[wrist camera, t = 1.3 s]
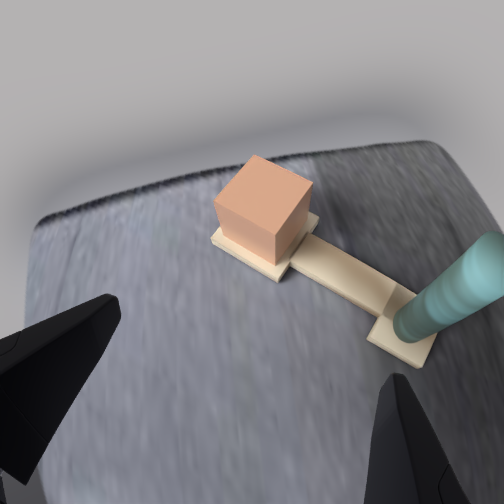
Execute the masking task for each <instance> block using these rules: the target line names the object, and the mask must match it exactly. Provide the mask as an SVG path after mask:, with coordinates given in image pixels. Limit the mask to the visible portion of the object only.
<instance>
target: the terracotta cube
mask: <svg viewBox="0 0 504 504" xmlns="http://www.w3.org/2000/svg"><path fill="white" fill-rule="evenodd" d="M312 187H313V182H311V181H309V180H307V179H305V178H303V177H301V176H299V175H297V174H295V173H293V172H291V171H288V170H286V169H284V168H282V167H280V166H278V165H276V164H274V163H271V162H269V161H267V160H265V159H263V158H261V157H258V156H256V155H254V156H253V157H252V158H251V159H250V160H249V161H248V162H247V163H246V164H245V165H244V166H243V168H242V169H241V170H240V171H239V172H238V173H237V174H236V175H235V177H234V178H233V179H232V180H231V181H230V182H229V183H228V184H227V186H226V187H225V188H224V189H223V190H222V191H221V193H220V194H219V195H218V196H217V197H216V198H215V199H214V201H213V202H214V205H215V208H216V212H217V215H218V219H219V222H220V226H221V229H222V233H223V236H225V237H227V238H228V239H230V240H232V241H234V242H235V243H237V244H239V245H240V246H242V247H244V248H245V249H247V250H249V251H250V252H252V253H254V254H256V255H257V256H259V257H261V258H262V259H264V260H266V261H267V262H269V263H271V264H272V265H274V266H276V264H277V263H278V261H279V260H280V258H281V257H282V256H283V254H284V253H285V251H286V250H287V248H288V247H289V245H290V244H291V243H292V241H293V240H294V238H295V237H296V235H297V234H298V232H299V231H300V229H301V228H302V226H303V225H304V224H305V222H306V221H307V219H308V212H309V206H310V200H311V193H312Z"/></svg>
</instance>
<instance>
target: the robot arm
mask: <svg viewBox="0 0 504 504" xmlns="http://www.w3.org/2000/svg"><path fill="white" fill-rule="evenodd" d="M120 319H121V311H120V306H119V301H118V298H117V297H116V296H114V295H111V294H103V295H101V296H99V297H96V298H94V299H92V300H89V301H87V302H85V303H82V304H80V305H78V306H75V307H73V308H71V309H69V310H66V311H64V312H62V313H59V314H57V315H55V316H53V317H50V318H48V319H46V320H43V321H41V322H39V323H37V324H34V325H32V326H30V327H28V328H25V329H23V330H22V331H18V332H16V333H14V334H12V335H9V336H7V337H5V338H2V339H0V475H1V474H2V472H3V471H5V472H6V473H8V474H9V475H11V476H12V477H13V478H15V479H16V480H18V481H19V482H20V483H22V484H23V485H26V484H27V483H28V481H29V479H30V477H31V475H32V474H33V472H34V470H35V468H36V466H37V464H38V462H39V461H40V459H41V457H42V455H43V453H44V452H45V450H46V448H47V446H48V443H49V442H50V441H51V439H52V437H53V435H54V434H55V432H56V430H57V428H58V427H59V425H60V423H61V422H62V420H63V418H64V416H65V415H66V413H67V411H68V410H69V408H70V406H71V405H72V403H73V401H74V400H75V398H76V397H77V395H78V393H79V392H80V390H81V388H82V387H83V385H84V384H85V382H86V380H87V379H88V377H89V376H90V374H91V372H92V371H93V369H94V368H95V366H96V365H97V363H98V361H99V360H100V358H101V357H102V355H103V353H104V351H105V349H106V347H107V345H108V343H109V341H110V339H111V337H112V335H113V333H114V332H115V330H116V328H117V326H118V324H119V322H120ZM0 504H7V503H6V498H5V494H4V488H3V482H2V477H1V476H0ZM364 504H470V502H469V500H468V498H467V497H466V495H465V493H464V491H463V489H462V487H461V486H460V484H459V482H458V480H457V478H456V475H455V473H454V471H453V469H452V467H451V465H450V464H449V461H448V459H447V457H446V454H445V452H444V450H443V448H442V446H441V444H440V442H439V440H438V438H437V436H436V434H435V432H434V430H433V428H432V426H431V424H430V422H429V420H428V418H427V416H426V414H425V412H424V410H423V408H422V406H421V405H420V403H419V401H418V399H417V397H416V395H415V393H414V391H413V389H412V388H411V386H410V384H409V382H408V380H407V378H406V377H405V375H403V374H399V373H391V374H390V376H389V377H388V379H387V380H386V382H385V383H384V385H383V386H382V388H381V390H380V393H379V398H378V404H377V410H376V416H375V421H374V426H373V432H372V438H371V447H370V458H369V467H368V476H367V484H366V491H365V498H364Z"/></svg>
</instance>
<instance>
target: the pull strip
mask: <svg viewBox="0 0 504 504" xmlns="http://www.w3.org/2000/svg"><path fill="white" fill-rule="evenodd" d="M318 222H319V217H318V216H317V215H315V214H313V213H311V212H308V219H307V221H306V222H305V224H304V225H303V226H302V228H301V229H300V231H299V232H298V234H297V235H296V237H295V238H294V240H293V241H292V243H291V244H290V245H289V247H288V248H287V250H286V251H285V253H284V254H283V256H282V257H281V258H280V260H279V261H278V263H277V264H276V266H274V265H272V264H271V263H269V262H267V261H266V260H264V259H262V258H261V257H259V256H257V255H256V254H254V253H252V252H250V251H249V250H247V249H245V248H244V247H242V246H240V245H239V244H237V243H235V242H234V241H232V240H230V239H228V238H227V237H225V236H223V233H222V229H221V226H220V227H219V228H218V230H217V231H216V232H215V233H214V235H213V236H212V237H211V240H212V243H213V244H214V245H216V246H218V247H219V248H221V249H222V250H224V251H226V252H227V253H229V254H231V255H232V256H234V257H236V258H237V259H239V260H241V261H242V262H244V263H245V264H247V265H249V266H250V267H252V268H254V269H255V270H257V271H259V272H260V273H262V274H264V275H265V276H267V277H269V278H270V279H272V280H274V281H275V282H277V283H278V282H279V281H280V280H281V278H282V277H283V275H284V274H285V272H286V271H287V269H288V268H289V266H291V267H292V268H294V269H296V270H297V271H299V272H301V273H303V274H304V275H306V276H308V277H309V278H311V279H313V280H315V281H316V282H318V283H320V284H321V285H323V286H325V287H326V288H328V289H330V290H332V291H333V292H335V293H337V294H338V295H340V296H342V297H343V298H345V299H347V300H349V301H350V302H352V303H354V304H355V305H357V306H359V307H360V308H362V309H364V310H366V311H367V312H369V313H371V314H372V315H374V316H376V317H377V320H376V322H375V324H374V326H373V327H372V329H371V331H370V333H369V335H368V337H367V339H366V340H368V341H370V342H372V343H373V344H375V345H377V346H378V347H380V348H382V349H384V350H385V351H387V352H389V353H390V354H392V355H394V356H396V357H397V358H399V359H401V360H402V361H404V362H406V363H408V364H409V365H411V366H413V367H414V368H416V369H418V368H422V366H423V364H424V362H425V360H426V358H427V356H428V353H429V351H430V349H431V347H432V344H433V342H434V340H435V337H436V335H437V332H439V331H441V330H443V329H445V328H446V327H448V326H450V325H452V324H454V323H456V322H458V321H460V320H462V319H464V318H465V317H467V316H469V315H471V314H473V313H474V312H476V311H478V310H480V309H482V308H483V307H485V306H487V305H488V304H490V303H492V302H494V301H495V300H497V299H499V298H500V297H502V296H503V295H504V235H503V234H501V233H499V232H495V231H489V232H486V233H485V234H483V235H482V236H481V237H480V238H479V239H478V240H477V241H476V242H475V243H474V244H473V245H472V246H471V247H470V248H469V249H468V250H467V251H466V252H465V253H464V254H463V255H462V256H461V257H459V258H458V259H457V260H456V261H455V262H454V263H453V264H452V265H451V266H450V267H449V268H448V269H446V270H445V271H444V272H443V273H442V274H441V275H440V276H439V277H437V278H436V279H435V280H434V281H433V282H432V283H431V284H429V285H428V286H427V287H426V288H425V289H424V290H422V291H421V292H420V293H419V294H418V295H417V294H415V293H413V292H412V291H410V290H408V289H407V288H405V287H403V286H402V285H400V284H398V283H397V282H395V281H393V280H392V279H390V278H388V277H386V276H385V275H383V274H381V273H380V272H378V271H376V270H375V269H373V268H371V267H369V266H368V265H366V264H364V263H363V262H361V261H359V260H357V259H356V258H354V257H352V256H350V255H349V254H347V253H345V252H343V251H342V250H340V249H338V248H336V247H335V246H333V245H331V244H329V243H327V242H326V241H324V240H322V239H320V238H318V237H317V236H315V235H313V234H311V233H312V232H313V230H314V229H315V227H316V226H317V224H318Z"/></svg>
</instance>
